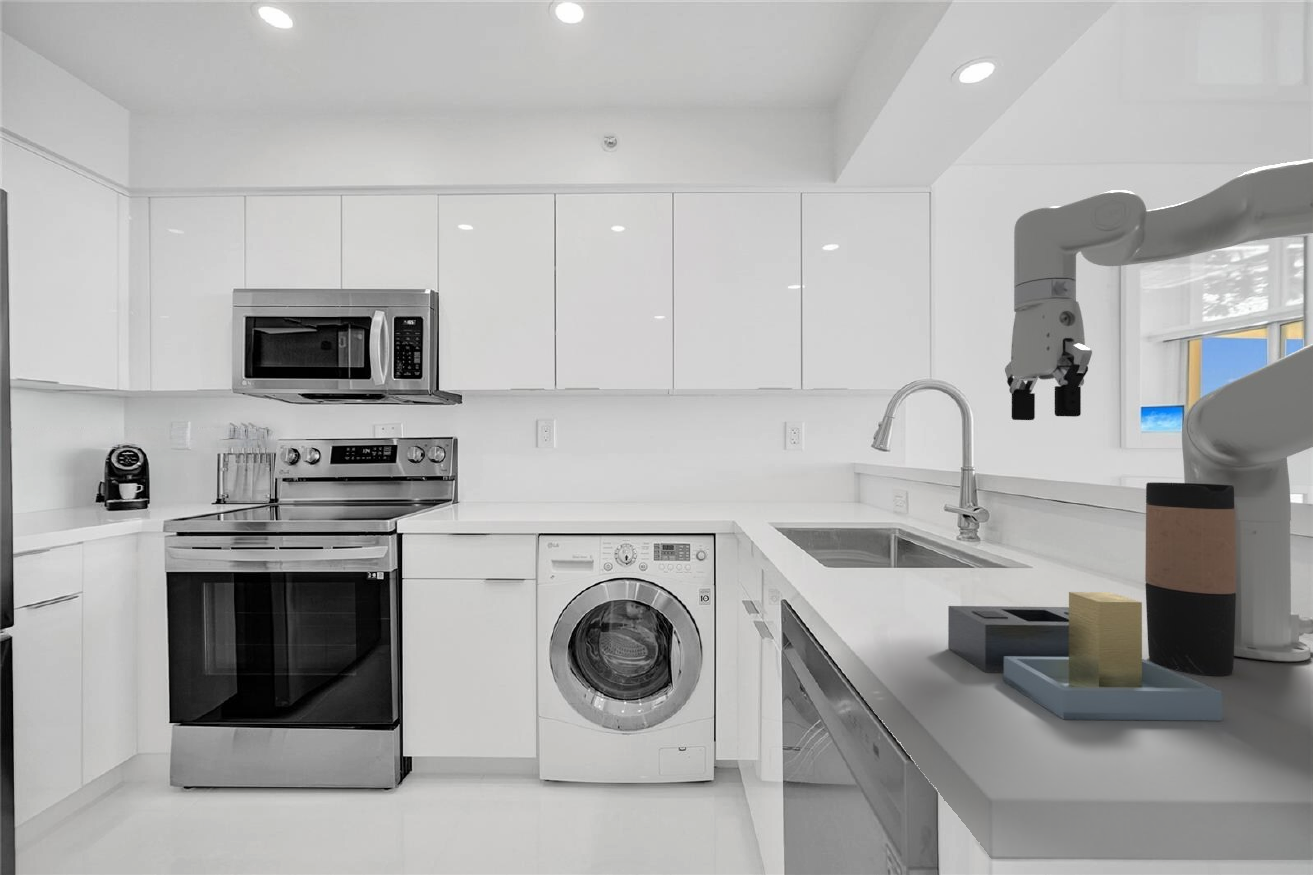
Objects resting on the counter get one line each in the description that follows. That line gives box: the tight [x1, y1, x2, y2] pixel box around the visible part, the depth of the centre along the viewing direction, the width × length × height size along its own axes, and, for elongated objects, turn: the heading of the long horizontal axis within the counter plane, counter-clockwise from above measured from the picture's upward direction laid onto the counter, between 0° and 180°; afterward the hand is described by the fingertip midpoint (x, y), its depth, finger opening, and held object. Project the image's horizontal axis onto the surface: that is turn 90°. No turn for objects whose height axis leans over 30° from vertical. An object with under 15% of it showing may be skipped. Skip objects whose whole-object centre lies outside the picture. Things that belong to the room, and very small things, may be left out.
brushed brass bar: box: [1068, 591, 1143, 688], centre depth 59 cm, size 4×4×9 cm
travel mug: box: [1144, 481, 1236, 677], centre depth 69 cm, size 8×8×20 cm
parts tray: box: [1003, 656, 1223, 722], centre depth 59 cm, size 14×9×2 cm, turn 91°
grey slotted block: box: [947, 605, 1069, 674], centre depth 70 cm, size 16×8×5 cm, turn 91°
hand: (1044, 418), depth 89 cm, fingers open, 9 cm apart
